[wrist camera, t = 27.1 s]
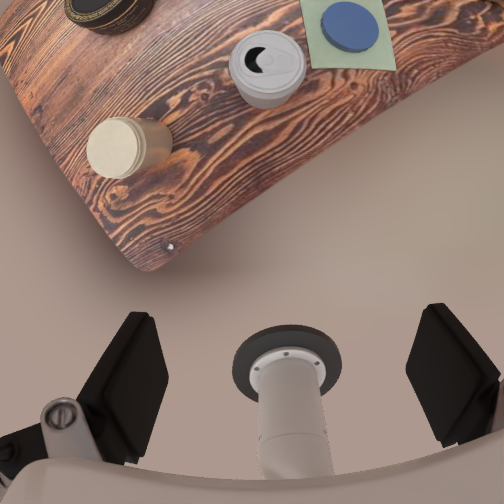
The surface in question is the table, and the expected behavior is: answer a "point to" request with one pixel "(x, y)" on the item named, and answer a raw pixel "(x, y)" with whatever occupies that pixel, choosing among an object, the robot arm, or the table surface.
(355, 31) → the jar lid
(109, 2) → the jar
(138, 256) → the table surface
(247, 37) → the beverage can
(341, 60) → the coaster
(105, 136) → the jam jar
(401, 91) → the table surface
